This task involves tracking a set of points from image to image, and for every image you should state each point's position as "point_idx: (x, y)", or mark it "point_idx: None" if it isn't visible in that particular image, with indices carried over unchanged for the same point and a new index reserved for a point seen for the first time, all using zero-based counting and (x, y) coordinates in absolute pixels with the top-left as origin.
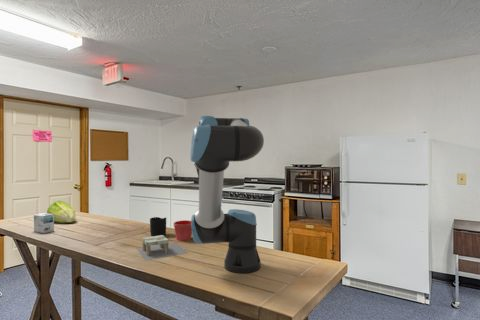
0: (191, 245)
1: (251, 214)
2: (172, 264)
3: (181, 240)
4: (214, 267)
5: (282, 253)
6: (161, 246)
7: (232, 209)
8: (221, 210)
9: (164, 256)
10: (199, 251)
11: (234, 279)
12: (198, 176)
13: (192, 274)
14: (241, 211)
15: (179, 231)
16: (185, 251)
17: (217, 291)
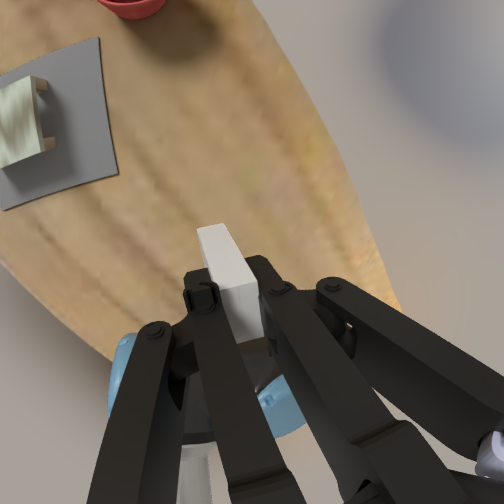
0: (146, 75)
1: (302, 424)
2: (70, 255)
3: (123, 17)
4: (175, 302)
5: (366, 252)
6: (39, 92)
7: (270, 407)
8: (214, 446)
9: (45, 189)
10: (157, 156)
11: None
12: (121, 402)
13: (121, 327)
14: (288, 415)
15: (108, 8)
16: (109, 153)
17: None
